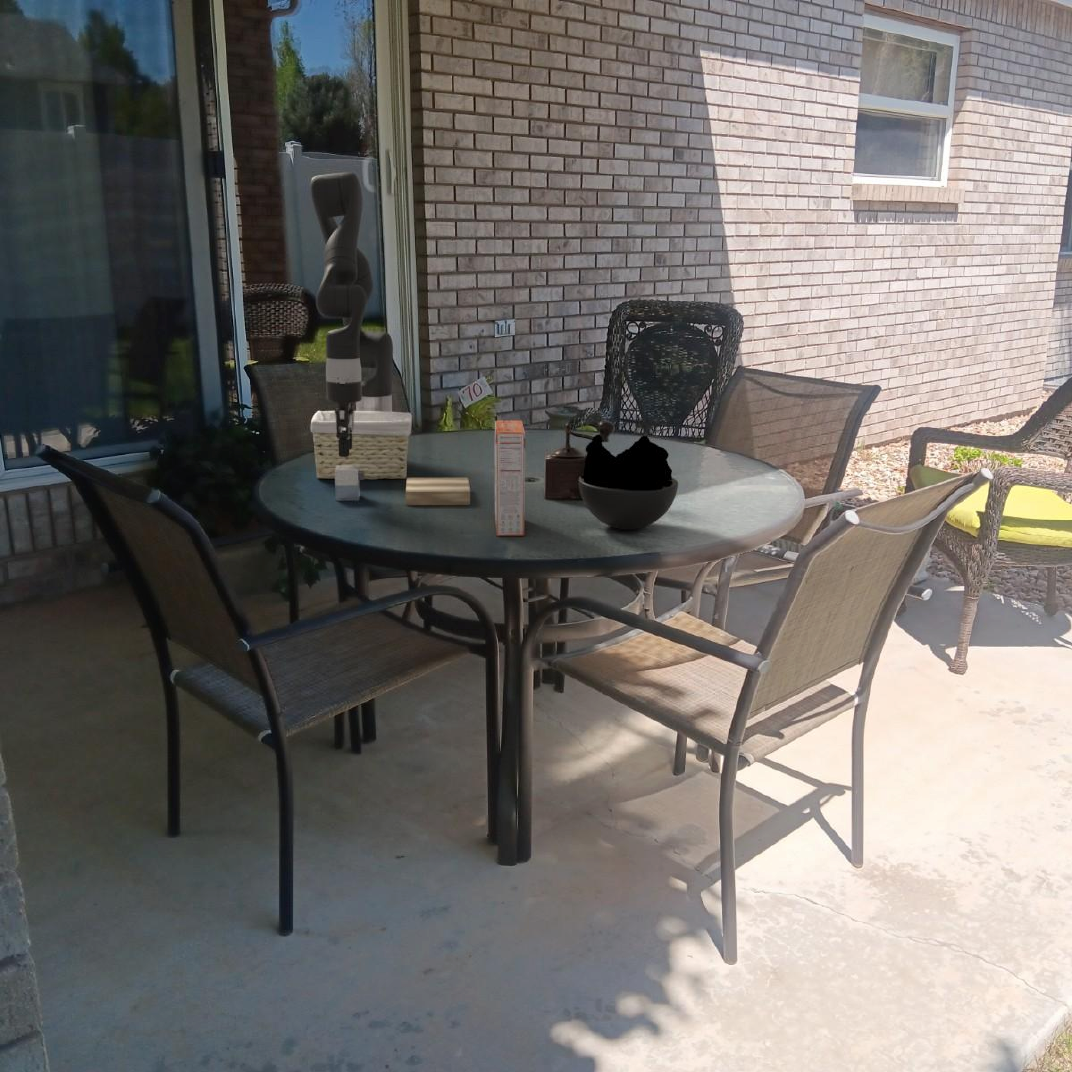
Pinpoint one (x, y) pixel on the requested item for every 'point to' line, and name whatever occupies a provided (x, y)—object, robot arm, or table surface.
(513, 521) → the cracker box
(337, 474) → the gray block
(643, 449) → the bowl of black rocks
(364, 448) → the storage basket
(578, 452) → the wooden coffee grinder
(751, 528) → the table surface
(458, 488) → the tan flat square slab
